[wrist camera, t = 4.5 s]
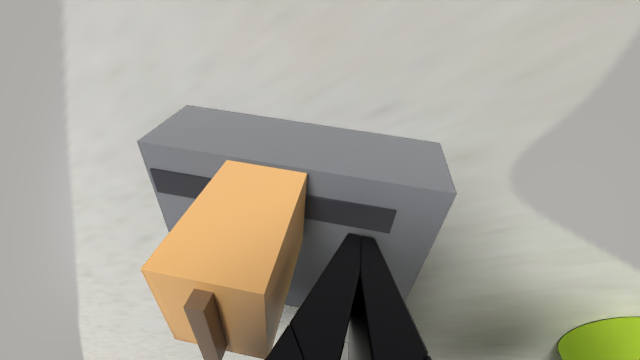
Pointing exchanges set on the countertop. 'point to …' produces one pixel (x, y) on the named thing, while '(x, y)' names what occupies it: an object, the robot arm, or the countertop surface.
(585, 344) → the soap dispenser
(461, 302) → the countertop surface
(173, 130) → the panel
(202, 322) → the orange slider
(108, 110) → the countertop surface
